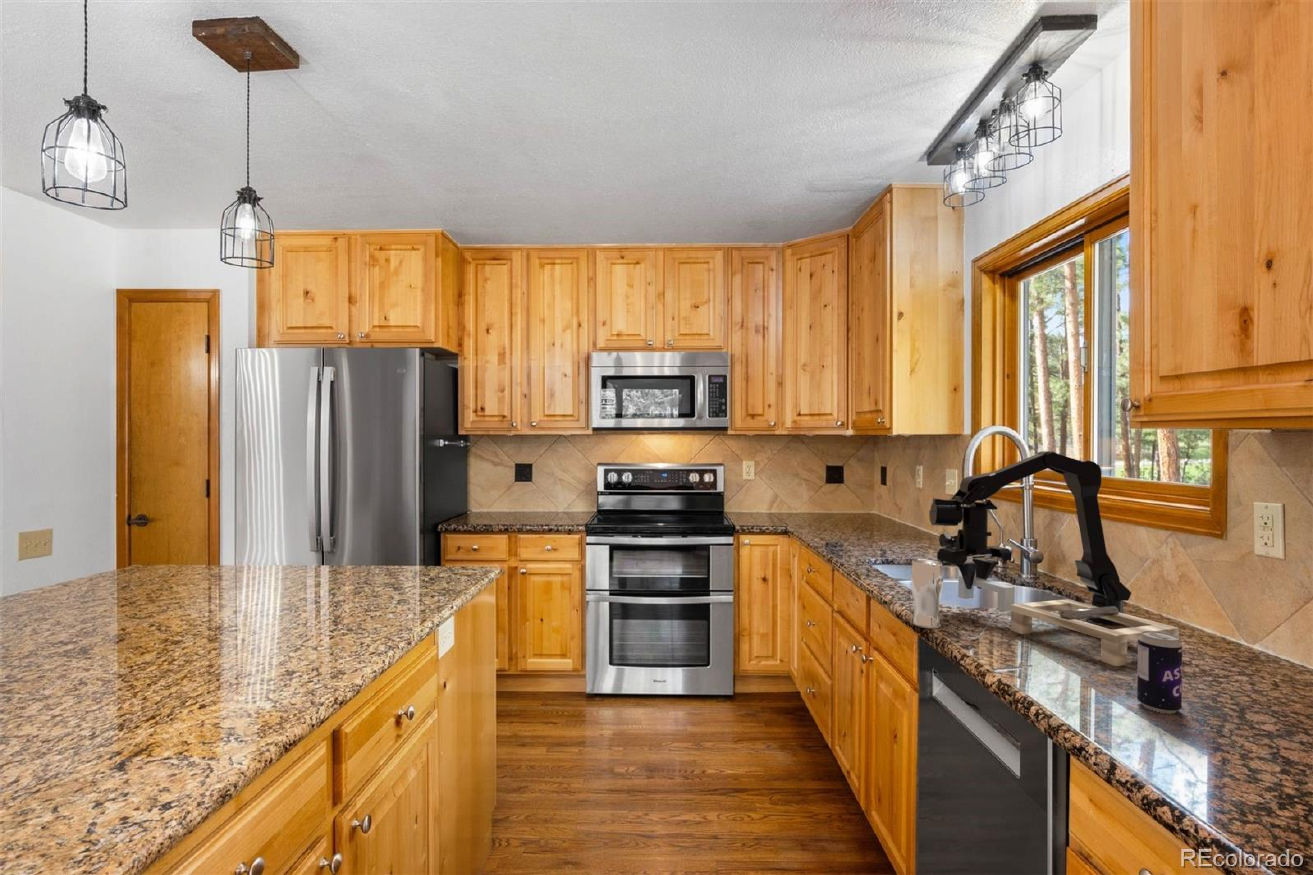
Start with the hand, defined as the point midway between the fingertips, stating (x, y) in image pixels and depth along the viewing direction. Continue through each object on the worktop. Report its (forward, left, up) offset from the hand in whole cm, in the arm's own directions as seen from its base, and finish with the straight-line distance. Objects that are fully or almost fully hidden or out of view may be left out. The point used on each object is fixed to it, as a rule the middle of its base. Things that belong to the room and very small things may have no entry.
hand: (974, 588), depth 157 cm
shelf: (-7, +25, -7) cm, 26 cm away
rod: (-7, +25, -1) cm, 26 cm away
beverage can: (+15, +53, -7) cm, 55 cm away
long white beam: (0, +4, -3) cm, 4 cm away
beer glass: (+18, +4, -7) cm, 19 cm away
